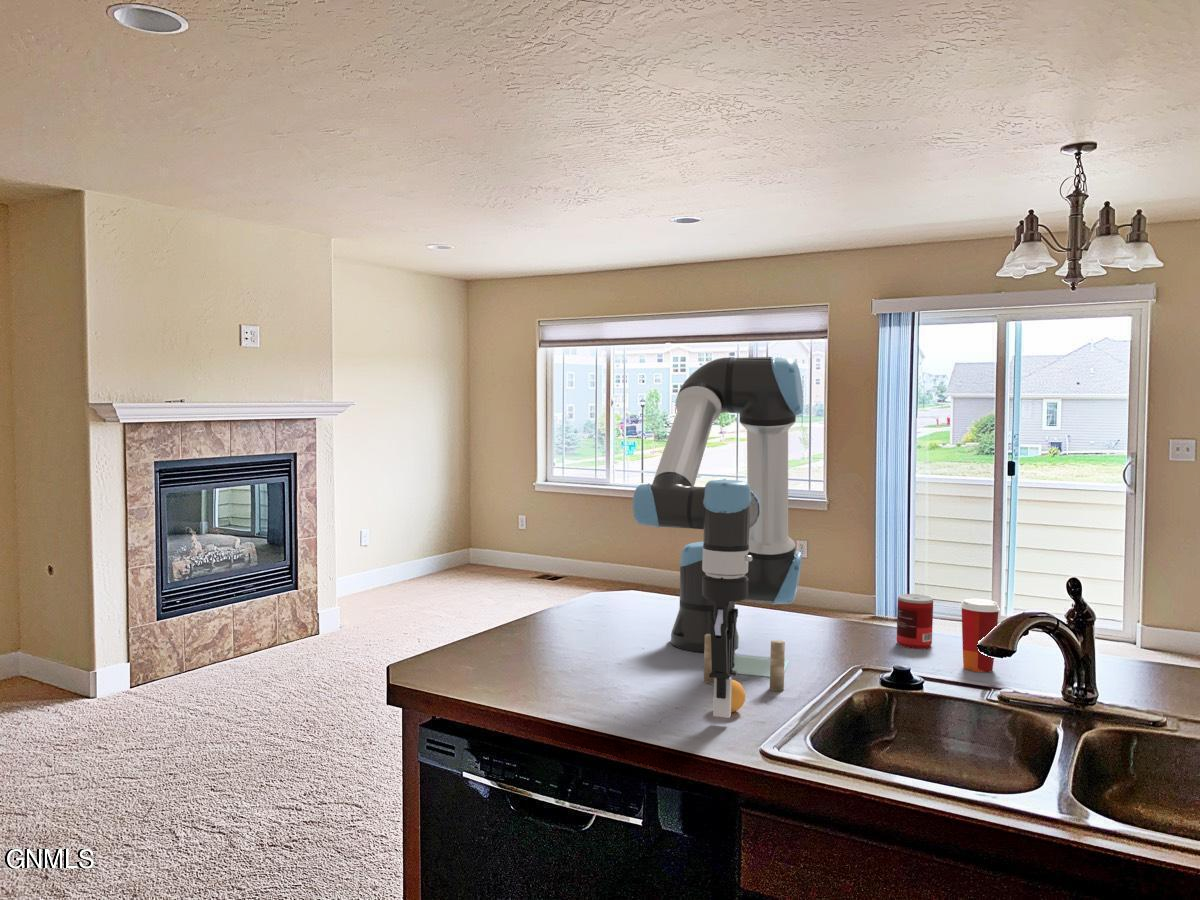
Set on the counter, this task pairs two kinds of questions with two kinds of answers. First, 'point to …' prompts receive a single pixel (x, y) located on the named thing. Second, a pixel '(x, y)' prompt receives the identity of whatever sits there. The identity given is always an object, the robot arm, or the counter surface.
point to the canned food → (914, 621)
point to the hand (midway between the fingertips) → (722, 715)
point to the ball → (736, 696)
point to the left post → (708, 660)
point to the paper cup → (977, 632)
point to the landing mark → (753, 665)
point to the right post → (777, 665)
